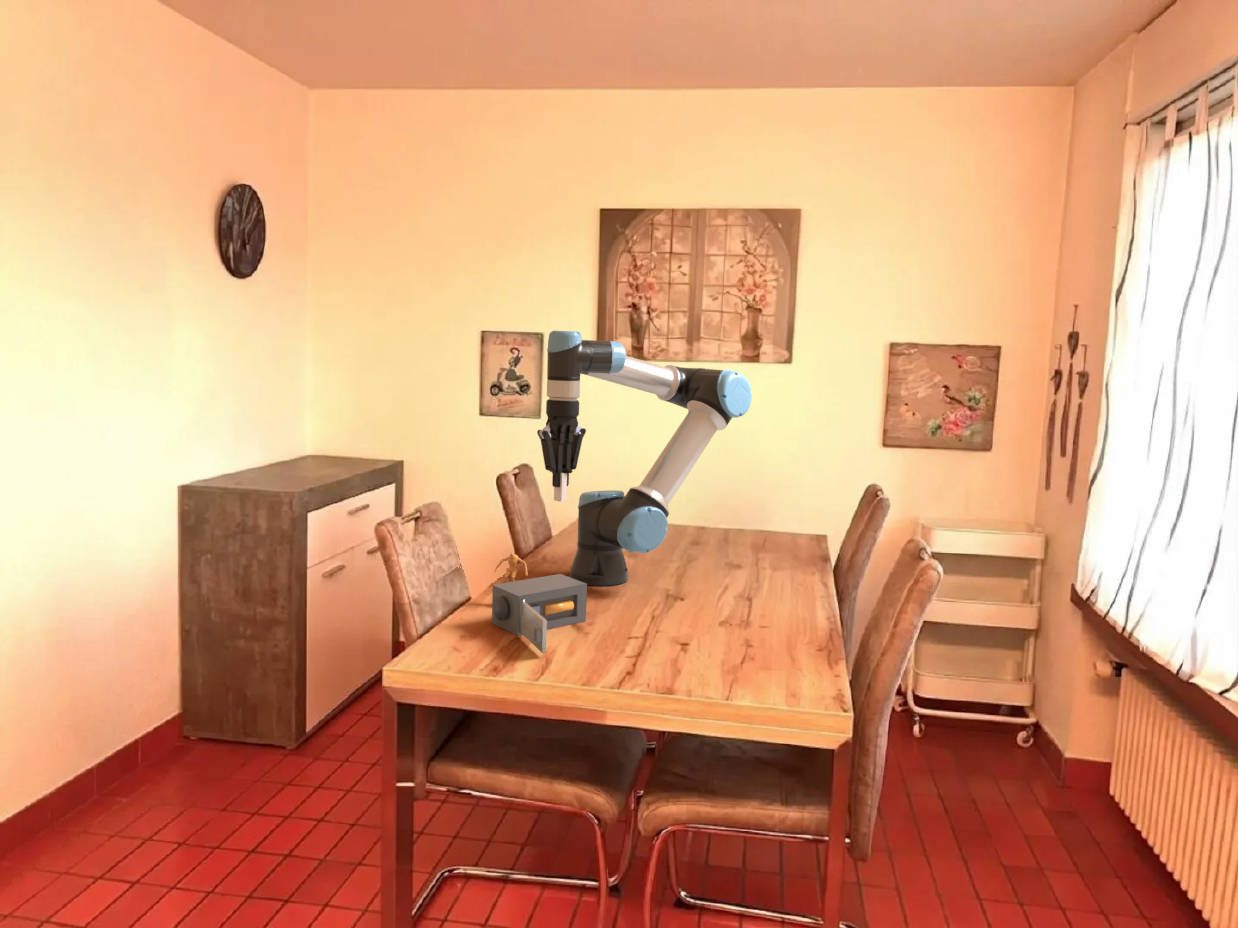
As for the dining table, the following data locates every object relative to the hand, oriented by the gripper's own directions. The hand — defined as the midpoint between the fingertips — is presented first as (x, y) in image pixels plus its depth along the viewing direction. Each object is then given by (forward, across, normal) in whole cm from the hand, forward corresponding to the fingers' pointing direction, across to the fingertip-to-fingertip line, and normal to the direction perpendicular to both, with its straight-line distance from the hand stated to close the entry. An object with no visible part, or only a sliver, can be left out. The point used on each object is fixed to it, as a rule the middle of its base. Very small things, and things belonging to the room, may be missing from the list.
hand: (560, 500), depth 216 cm
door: (+24, +24, +20) cm, 40 cm away
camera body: (+24, +13, +9) cm, 29 cm away
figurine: (+25, +10, -6) cm, 27 cm away
